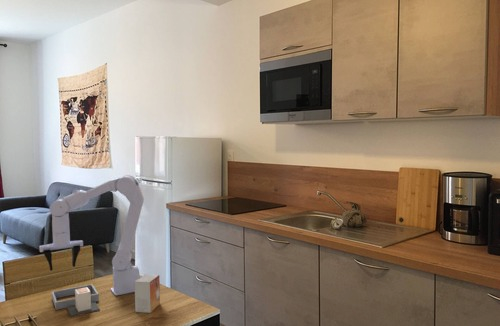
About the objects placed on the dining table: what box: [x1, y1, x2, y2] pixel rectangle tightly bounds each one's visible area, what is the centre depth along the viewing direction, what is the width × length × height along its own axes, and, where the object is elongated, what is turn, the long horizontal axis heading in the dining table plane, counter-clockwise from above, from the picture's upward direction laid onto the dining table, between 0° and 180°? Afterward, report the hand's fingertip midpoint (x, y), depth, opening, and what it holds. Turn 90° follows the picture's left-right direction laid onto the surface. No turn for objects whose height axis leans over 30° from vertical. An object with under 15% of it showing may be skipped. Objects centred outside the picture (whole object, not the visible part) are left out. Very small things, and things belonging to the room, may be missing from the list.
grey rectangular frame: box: [51, 283, 100, 311], centre depth 146 cm, size 14×12×2 cm
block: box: [74, 287, 92, 312], centre depth 137 cm, size 4×5×6 cm
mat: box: [66, 301, 100, 318], centre depth 137 cm, size 9×8×1 cm
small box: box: [134, 273, 161, 314], centre depth 137 cm, size 8×6×10 cm
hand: (62, 267), depth 150 cm, fingers open, 7 cm apart
